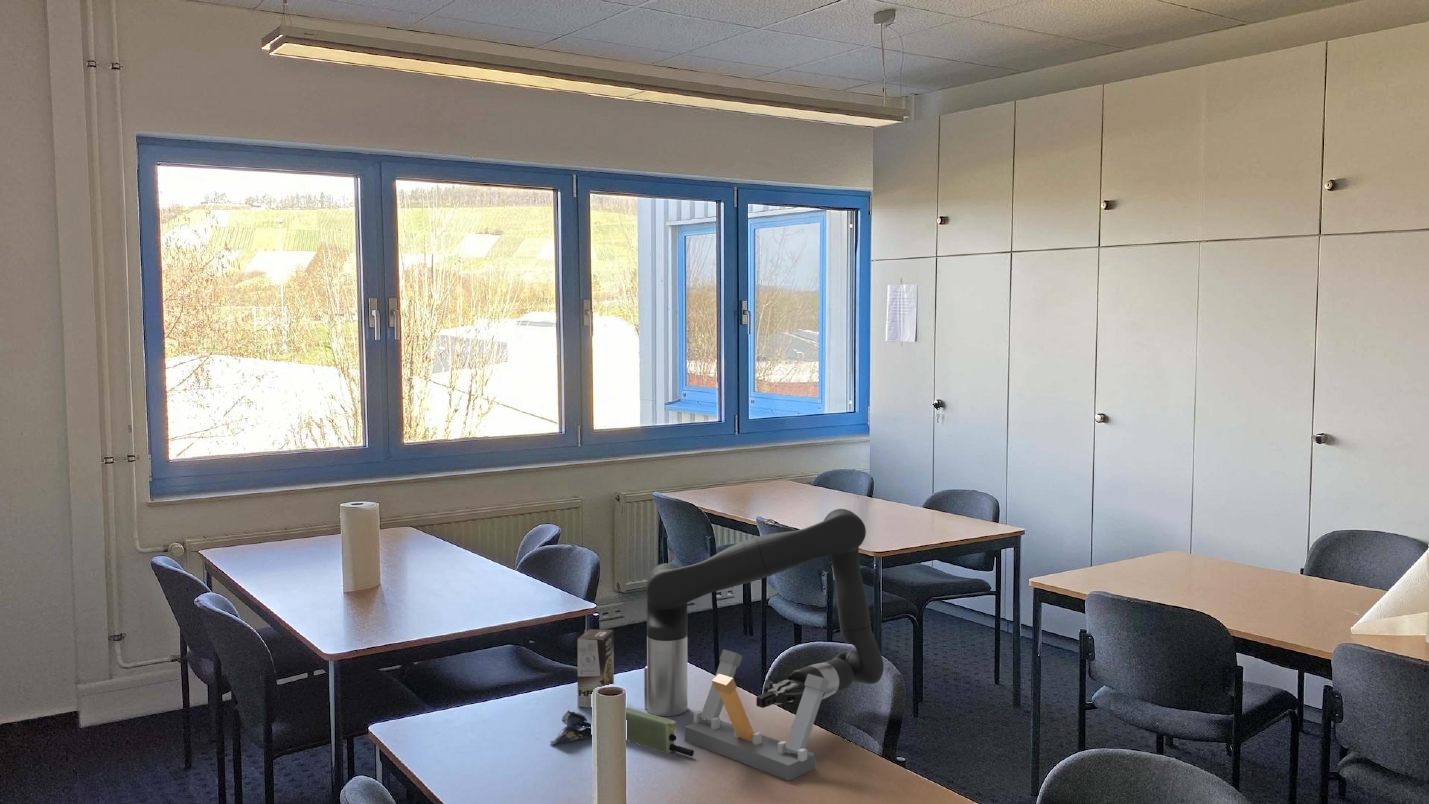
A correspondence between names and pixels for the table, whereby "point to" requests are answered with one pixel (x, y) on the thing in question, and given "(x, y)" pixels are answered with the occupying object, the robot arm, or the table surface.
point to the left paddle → (714, 699)
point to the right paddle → (806, 712)
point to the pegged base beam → (749, 748)
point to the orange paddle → (733, 706)
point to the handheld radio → (653, 732)
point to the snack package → (573, 728)
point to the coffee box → (594, 663)
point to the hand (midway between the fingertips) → (759, 702)
